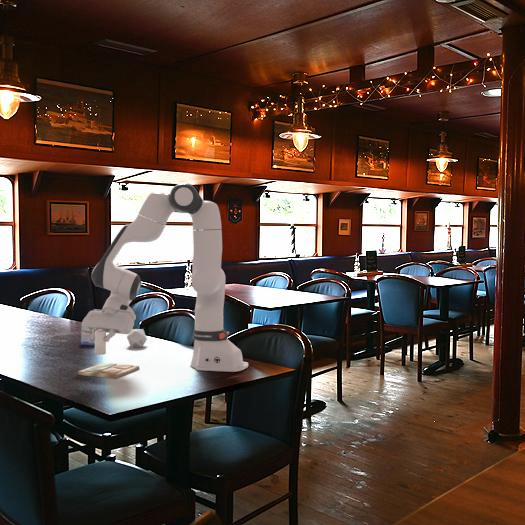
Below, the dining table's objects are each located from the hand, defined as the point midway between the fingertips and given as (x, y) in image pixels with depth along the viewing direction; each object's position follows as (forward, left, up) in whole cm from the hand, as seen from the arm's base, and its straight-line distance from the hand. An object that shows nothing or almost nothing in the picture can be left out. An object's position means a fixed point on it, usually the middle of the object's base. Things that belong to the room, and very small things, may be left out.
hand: (99, 340), depth 233 cm
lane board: (-4, -1, -12) cm, 12 cm away
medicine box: (+34, -45, -12) cm, 58 cm away
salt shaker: (0, -1, -5) cm, 5 cm away
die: (+12, -48, -12) cm, 51 cm away
